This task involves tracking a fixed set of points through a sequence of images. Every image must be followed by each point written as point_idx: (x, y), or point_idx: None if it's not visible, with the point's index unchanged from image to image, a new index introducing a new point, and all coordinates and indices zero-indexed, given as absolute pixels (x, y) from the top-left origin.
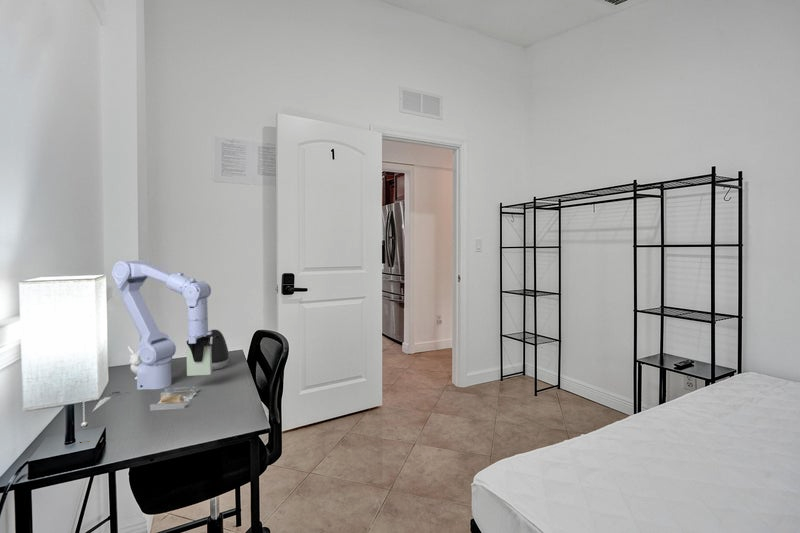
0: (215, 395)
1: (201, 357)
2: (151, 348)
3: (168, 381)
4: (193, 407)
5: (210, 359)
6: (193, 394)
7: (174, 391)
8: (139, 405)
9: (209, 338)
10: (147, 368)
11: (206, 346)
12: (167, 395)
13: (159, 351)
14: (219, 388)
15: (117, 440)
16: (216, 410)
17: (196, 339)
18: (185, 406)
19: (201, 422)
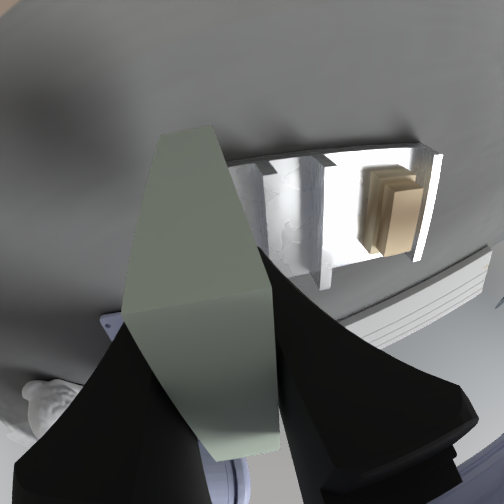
0: (259, 59)
1: (277, 269)
2: (247, 501)
3: None
4: (394, 120)
5: (202, 173)
6: (285, 165)
7: (326, 246)
8: (324, 307)
9: (39, 482)
10: None
11: (186, 363)
12: (386, 244)
13: (216, 480)
14: (141, 81)
15: (500, 231)
16: (434, 28)
17: (455, 488)
18: (418, 147)
19: (495, 71)
